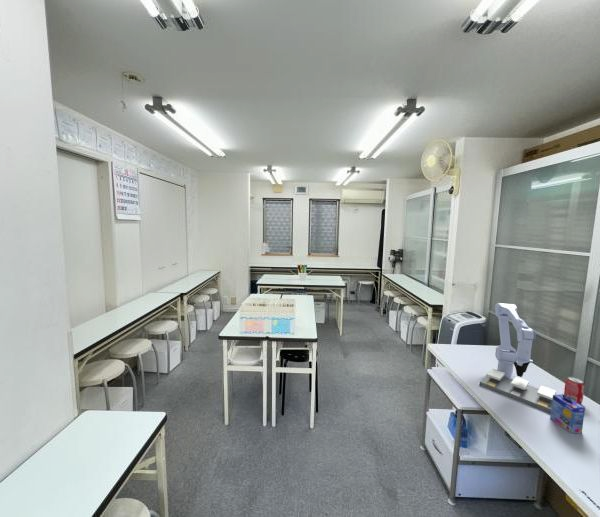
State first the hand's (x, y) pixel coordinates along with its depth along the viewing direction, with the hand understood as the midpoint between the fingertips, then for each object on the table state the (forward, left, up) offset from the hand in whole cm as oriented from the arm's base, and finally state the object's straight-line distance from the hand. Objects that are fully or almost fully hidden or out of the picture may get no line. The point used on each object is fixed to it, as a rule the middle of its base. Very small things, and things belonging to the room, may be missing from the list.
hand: (521, 373), depth 149 cm
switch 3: (0, +11, -6) cm, 12 cm away
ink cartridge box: (+16, +20, -11) cm, 28 cm away
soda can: (-12, +20, -11) cm, 26 cm away
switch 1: (0, -11, -6) cm, 12 cm away
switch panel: (+1, 0, -10) cm, 10 cm away
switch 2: (0, 0, -6) cm, 6 cm away
